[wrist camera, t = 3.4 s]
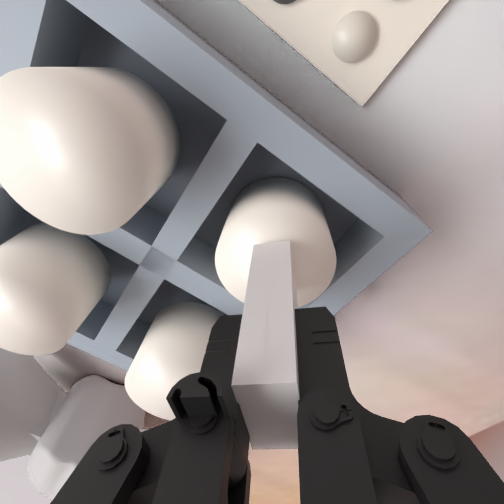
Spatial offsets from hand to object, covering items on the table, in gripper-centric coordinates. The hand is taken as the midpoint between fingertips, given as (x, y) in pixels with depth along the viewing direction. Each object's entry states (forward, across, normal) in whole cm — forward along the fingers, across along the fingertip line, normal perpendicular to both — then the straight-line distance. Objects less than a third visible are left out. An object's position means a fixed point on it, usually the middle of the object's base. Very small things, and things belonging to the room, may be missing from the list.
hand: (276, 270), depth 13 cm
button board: (+6, -6, 0) cm, 8 cm away
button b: (+3, -6, -6) cm, 9 cm away
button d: (+2, -12, 0) cm, 12 cm away
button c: (+2, -6, +6) cm, 9 cm away
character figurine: (+6, -19, -16) cm, 25 cm away
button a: (+4, 0, 0) cm, 4 cm away
